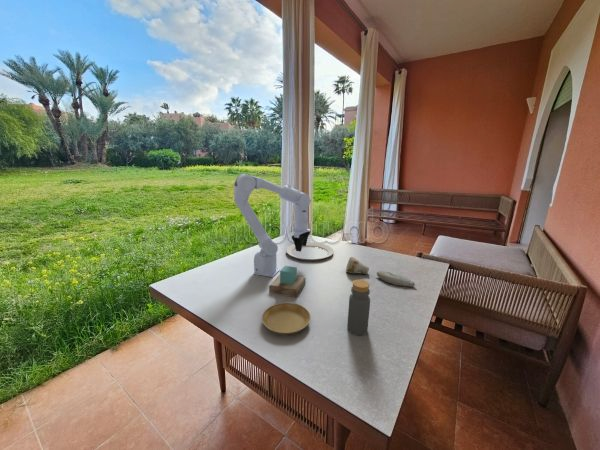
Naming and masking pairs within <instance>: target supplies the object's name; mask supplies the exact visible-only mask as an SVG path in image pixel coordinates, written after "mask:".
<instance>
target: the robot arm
mask: <svg viewBox="0 0 600 450" xmlns="http://www.w3.org/2000/svg"><path fill="white" fill-rule="evenodd" d="M233 184H234V185H233V187H234V189H233V201H234V203H235V205H236V207H237V208H238V209H239V212H240V213H241V214H242V216H243V218H244V220H245V221H246V223H247V225H248V226H249V228H250V230H252V233H253V234H254V235H255V237H256V239H257V243H258V247H259V248H260V250H259V251H257V252H256V253H255V254H254V257H253V275H258V276H263V277H269V278H274V277H275V276H276V275H277V273H278V272H280V270H281V268H277V266H278V265H277V252H278V250H279V248H278V247H279V246H278V244H277V243H276V242H275V241H273V240H272V238H271V237H270V236H269V234H268V233H267V231H266V229H265V228H264V227H263V226H264V225H262V223H261V221H260V219H259V218H258V216H257V214H256V213H255V211H254V210H253V208H252V207H251V204H250V202H249V198H250V196H251V194H252V192H253V191H254V189H255V190H259V189H265V190H267V191H270V192H273V193H275V194H278V196H279V198H280V199H282V200H285V201H288V202H289V203H293V204H295V206H294V207H295V208H294V212H295V213H294V216H295V217H294V222H295V223H294V226H295V227H294V232H293V234H292V235H291V239H292V241H293V244H295V248H296V249H295V251H296V252H299V253H300V252H302V249H303V247H302V246H306V244H307V242H308V239H309V236H310V234H311V229H310V228H309V206H310V204H311V201H312V200H311V196H309V194H308V193H305V192H302V190H301V189H295V188H294V187H292V185H289V184H285V185H283V186H280V185H278V184H276V183H273V182H271V181H269V180H267V179H264V178H262V177H258V176H254V175H249V174H247V173H241V174H239V175H238V176H236V178H235V181H234V183H233Z"/></svg>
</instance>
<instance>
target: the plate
mask: <svg viewBox="0 0 600 450" xmlns="http://www.w3.org/2000/svg"><path fill="white" fill-rule="evenodd" d="M315 247H318V248H317V249H320V248H322V249H321V250H323V249H325V250H326V251H327V252H328V253H327V252H326V251H325V250H324V251H325V252H326V253H327V255H326V256H323V257H319V258H302V257H298V256H296V255H294V254H293V251H296V248H295V244H294V243H293V244H291V245H289V246H287V248H286V253H287V254H288V255H289V256H290V257H293V258H296V259H299V260H304V261H319V260H324V259H325V258H328V257H331V256H332V255H334V248H332V246H329V245H327V244H324V243H320V242H308V241H307V244H306V246H302V248H315Z"/></svg>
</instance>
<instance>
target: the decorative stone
mask: <svg viewBox="0 0 600 450" xmlns="http://www.w3.org/2000/svg"><path fill="white" fill-rule="evenodd" d="M376 276H377V277H378V278H379V279H380V280H382V281H383V282H386V283H388V284H392V285H395V286H401V287H403V286H404V287H409V288H410V287H411V288H413V287H415V285H416V284H415V282H414V281H412V280H410V278H408V277H405V276H404V275H402V274H398V273H395V272H391V271H387V270H379V271H376Z"/></svg>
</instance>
